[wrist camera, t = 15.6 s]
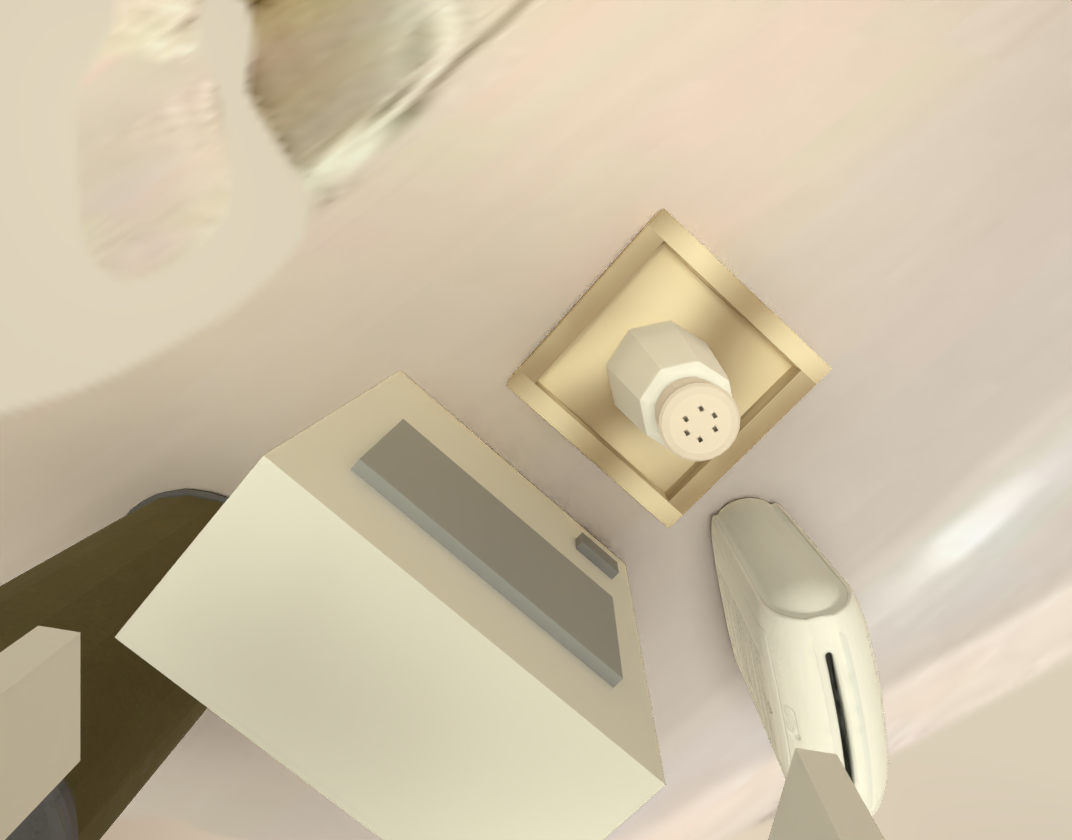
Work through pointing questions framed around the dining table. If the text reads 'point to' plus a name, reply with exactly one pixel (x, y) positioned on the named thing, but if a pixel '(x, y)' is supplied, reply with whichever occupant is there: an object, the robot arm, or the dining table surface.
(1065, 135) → the dining table surface
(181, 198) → the dining table surface
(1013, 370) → the dining table surface
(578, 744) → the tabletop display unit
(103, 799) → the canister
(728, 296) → the tray
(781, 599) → the photo printer
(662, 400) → the pepper shaker
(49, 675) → the robot arm
